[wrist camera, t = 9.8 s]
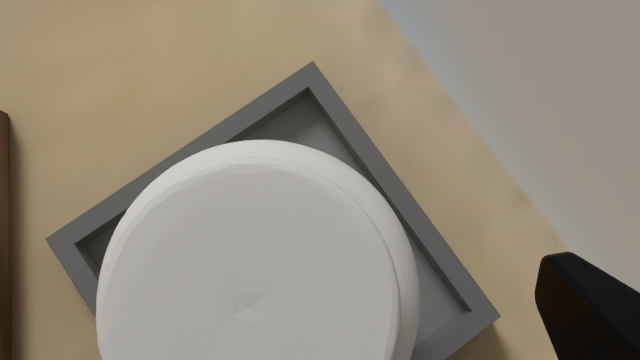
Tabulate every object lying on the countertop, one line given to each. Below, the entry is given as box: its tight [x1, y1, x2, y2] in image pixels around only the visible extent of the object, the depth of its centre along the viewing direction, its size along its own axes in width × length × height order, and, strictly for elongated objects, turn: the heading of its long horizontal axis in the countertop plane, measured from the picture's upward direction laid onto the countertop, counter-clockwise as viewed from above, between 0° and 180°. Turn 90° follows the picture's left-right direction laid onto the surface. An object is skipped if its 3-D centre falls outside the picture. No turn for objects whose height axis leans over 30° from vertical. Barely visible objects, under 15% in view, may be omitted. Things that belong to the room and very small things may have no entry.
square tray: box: [45, 61, 501, 360], centre depth 17 cm, size 10×10×1 cm
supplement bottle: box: [96, 140, 420, 360], centre depth 12 cm, size 6×6×10 cm
